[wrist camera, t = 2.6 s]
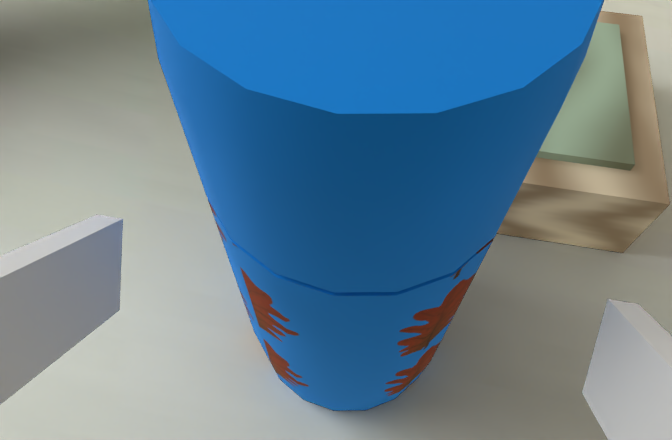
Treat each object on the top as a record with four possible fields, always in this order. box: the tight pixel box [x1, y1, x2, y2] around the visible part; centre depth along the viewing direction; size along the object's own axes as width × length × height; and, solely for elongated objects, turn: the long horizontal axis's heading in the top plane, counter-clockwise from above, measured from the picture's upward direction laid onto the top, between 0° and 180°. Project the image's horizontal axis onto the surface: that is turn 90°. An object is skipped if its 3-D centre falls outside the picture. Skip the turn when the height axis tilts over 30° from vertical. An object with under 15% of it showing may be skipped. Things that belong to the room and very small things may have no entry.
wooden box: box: [497, 11, 670, 253], centre depth 39 cm, size 17×16×7 cm
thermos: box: [148, 0, 604, 411], centre depth 24 cm, size 11×11×25 cm
